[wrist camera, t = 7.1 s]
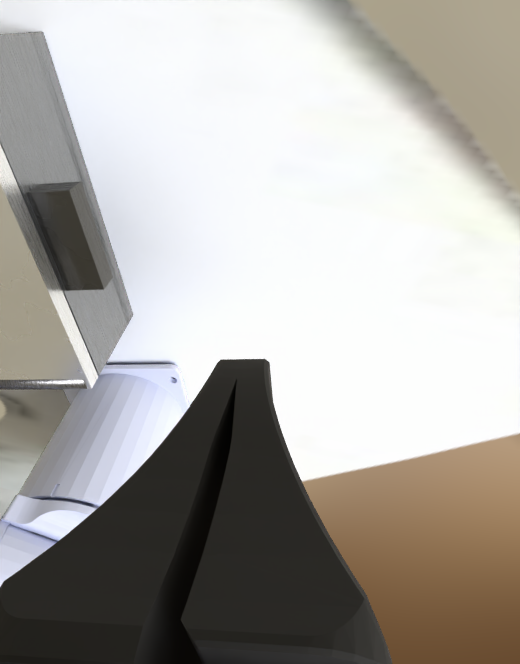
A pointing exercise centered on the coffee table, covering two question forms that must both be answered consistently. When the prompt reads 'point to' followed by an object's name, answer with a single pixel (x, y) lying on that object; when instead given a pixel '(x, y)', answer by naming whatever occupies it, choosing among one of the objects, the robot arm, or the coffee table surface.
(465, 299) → the coffee table surface
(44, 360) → the lid
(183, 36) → the coffee table surface
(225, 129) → the coffee table surface
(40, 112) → the cooker pot
